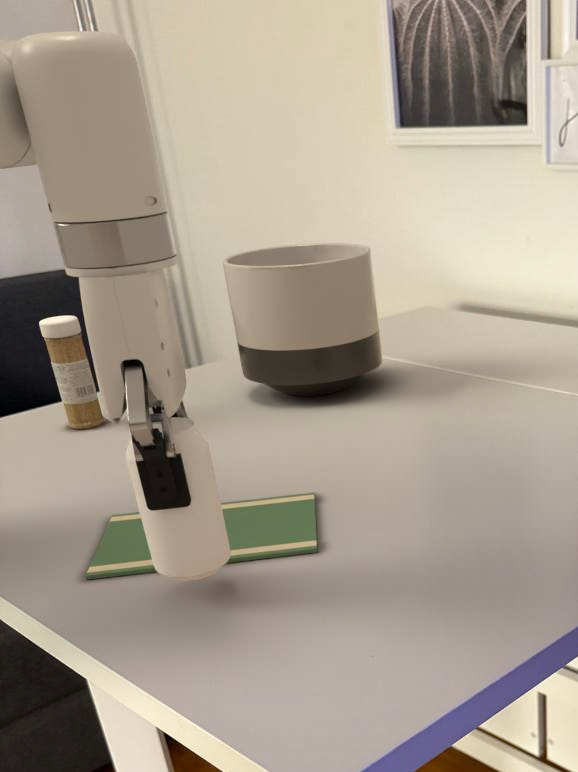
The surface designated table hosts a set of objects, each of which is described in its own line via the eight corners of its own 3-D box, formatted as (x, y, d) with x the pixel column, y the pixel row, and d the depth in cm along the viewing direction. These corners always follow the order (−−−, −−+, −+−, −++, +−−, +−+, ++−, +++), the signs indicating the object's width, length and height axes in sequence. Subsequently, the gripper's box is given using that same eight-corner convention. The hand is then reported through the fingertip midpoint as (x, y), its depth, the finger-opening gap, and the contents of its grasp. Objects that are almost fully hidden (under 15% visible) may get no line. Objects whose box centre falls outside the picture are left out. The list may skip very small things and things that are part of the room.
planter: (218, 395, 131) (192, 260, 122) (322, 364, 143) (305, 240, 134) (308, 416, 119) (286, 270, 110) (412, 381, 132) (400, 246, 123)
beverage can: (147, 588, 74) (108, 442, 68) (166, 555, 79) (132, 417, 73) (224, 583, 74) (193, 437, 68) (239, 550, 79) (211, 412, 73)
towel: (86, 579, 81) (85, 575, 81) (113, 518, 93) (112, 514, 92) (317, 552, 83) (316, 548, 83) (314, 496, 95) (314, 492, 95)
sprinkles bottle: (101, 417, 124) (73, 312, 117) (108, 425, 121) (80, 318, 114) (65, 424, 122) (35, 318, 115) (72, 432, 119) (41, 324, 112)
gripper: (85, 235, 71) (141, 460, 80) (31, 269, 56) (107, 540, 65) (186, 227, 72) (230, 451, 81) (158, 259, 57) (215, 528, 66)
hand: (174, 488), depth 73 cm, fingers closed on beverage can, 6 cm apart
